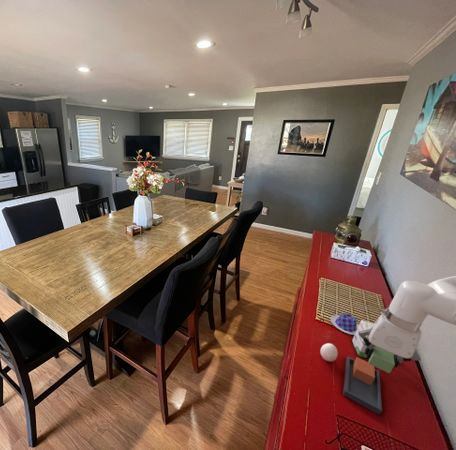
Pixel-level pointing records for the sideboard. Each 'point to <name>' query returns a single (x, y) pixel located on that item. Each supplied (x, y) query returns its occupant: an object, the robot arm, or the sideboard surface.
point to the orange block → (363, 371)
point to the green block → (382, 359)
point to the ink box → (358, 341)
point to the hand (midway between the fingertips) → (379, 360)
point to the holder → (362, 389)
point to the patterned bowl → (345, 323)
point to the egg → (329, 352)
